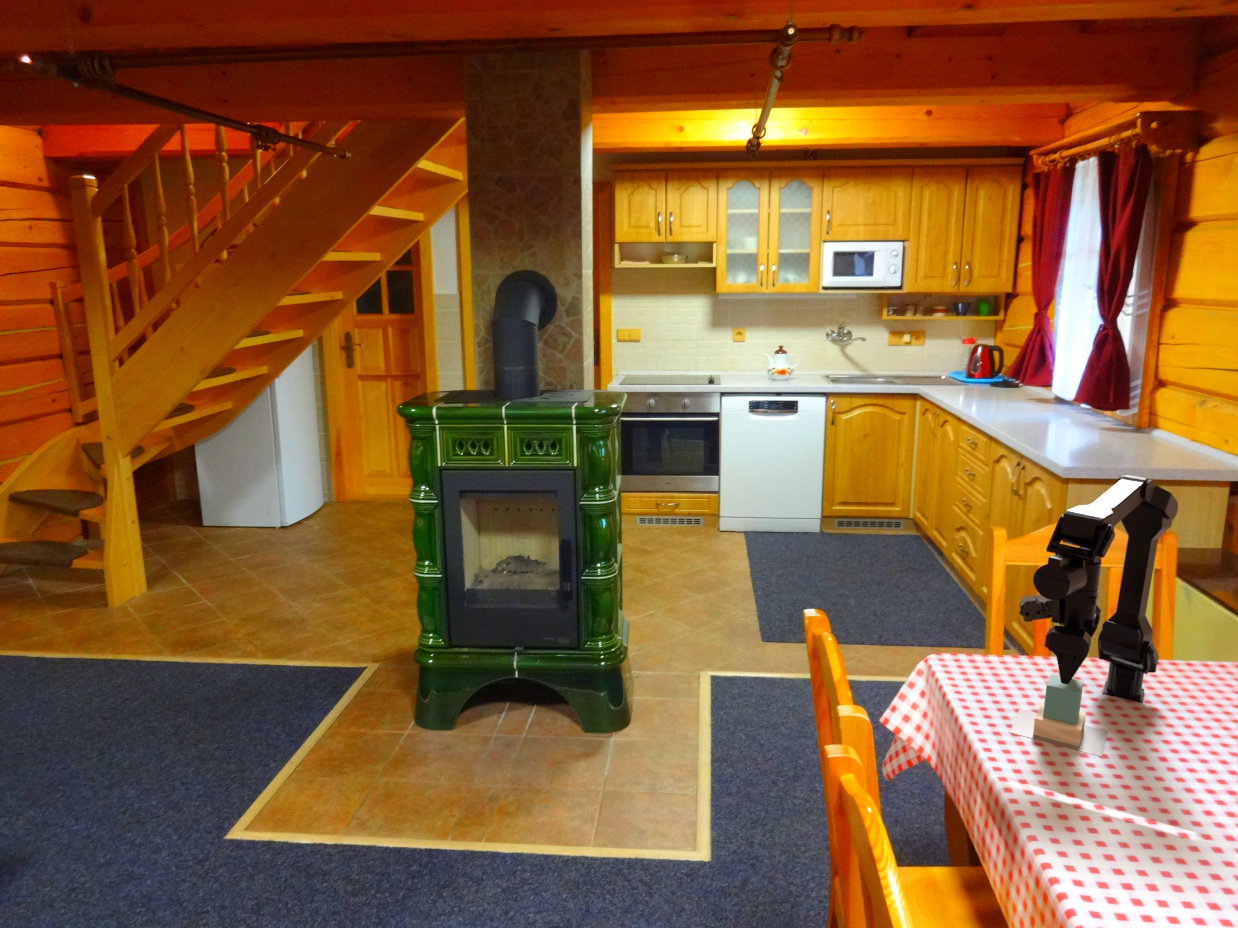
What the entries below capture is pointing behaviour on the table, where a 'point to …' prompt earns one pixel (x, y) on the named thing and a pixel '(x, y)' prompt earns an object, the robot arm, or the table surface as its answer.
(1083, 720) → the maple base block
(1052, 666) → the table surface
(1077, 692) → the teal block
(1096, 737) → the baseplate
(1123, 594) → the robot arm
